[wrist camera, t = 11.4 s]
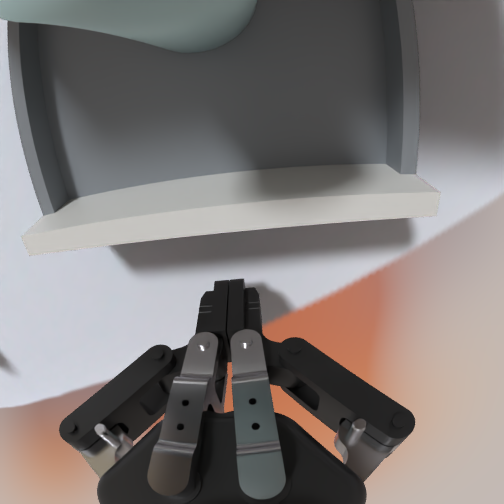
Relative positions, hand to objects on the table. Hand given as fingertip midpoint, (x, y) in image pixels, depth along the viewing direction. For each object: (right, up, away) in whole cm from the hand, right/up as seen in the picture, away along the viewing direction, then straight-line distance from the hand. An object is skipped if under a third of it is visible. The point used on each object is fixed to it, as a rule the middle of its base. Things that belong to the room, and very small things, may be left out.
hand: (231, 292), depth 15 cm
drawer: (-1, +12, -6) cm, 14 cm away
